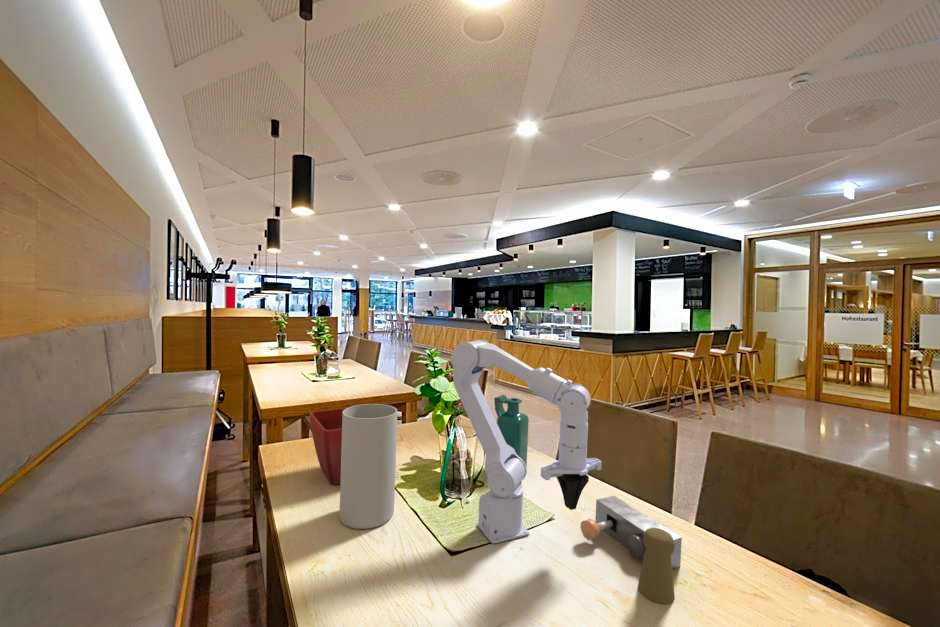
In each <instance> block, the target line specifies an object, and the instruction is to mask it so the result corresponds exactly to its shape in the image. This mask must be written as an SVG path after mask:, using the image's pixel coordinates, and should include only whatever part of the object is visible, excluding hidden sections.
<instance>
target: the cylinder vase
mask: <svg viewBox="0 0 940 627" xmlns="http://www.w3.org/2000/svg"><path fill="white" fill-rule="evenodd" d="M345 408H346V409H345V410H343V413H342V447H341V482H340V484H339V488H340V490H339V519H340V522H341V523H342V524H343V525H345V526H347V527H348V528H352V529H355V530H356V529H358V530H366V529H367V530H368V529H373V528H377V527H381V526H382V525H384V524H386V523H387V522H388V521H389V520H391V518H392V517H393V515H394V513H395V495H396V494H395V492H396V491H395V489H396V487H395V486H396V464H397V463H396V461H397V458H396V457H397V433H398V432H397V431H398V408H396V407H395V406H392V405H390V404H382V403H364V404H357V405H352V406H350V407H345Z"/></svg>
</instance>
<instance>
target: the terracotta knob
mask: <svg viewBox="0 0 940 627" xmlns="http://www.w3.org/2000/svg"><path fill="white" fill-rule="evenodd" d="M610 527H613V523H612V521H611V520H608V521H604V522H600V523H596V522H595V520H594V519H592V518H590V519H585V520H582V521H581V522H580V529H581V534H582V535H583V537H584V538H585V539H586V540H588V541H589V540H593V539H596V538H598V537H599V535H600V531H603V529H607V528H610Z"/></svg>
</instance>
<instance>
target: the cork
mask: <svg viewBox="0 0 940 627" xmlns="http://www.w3.org/2000/svg"><path fill="white" fill-rule="evenodd" d="M643 543H644V546H645V547H646V549H645V554H644V558H643V560H642V565H641V570H640V574H639V580H638V584H637V588H638V591H639V592H640V594H641V595H642V596H643V597H644V598H646V599H647V600H649V601H650V602H652V603H656V604H659V605H670V604H672V603H674V601H675V599H676V598H675V588H674V576H673V575H674V574H673V570H672V563H671V554H673V551H674V549H675V544H674V540H673V538H672V536H671V535H670V534H669V533H668V532H666V531H664V530H662V529H659V528H649V529H647V530H646V531H645V532H644V534H643Z"/></svg>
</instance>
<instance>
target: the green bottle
mask: <svg viewBox="0 0 940 627" xmlns="http://www.w3.org/2000/svg"><path fill="white" fill-rule="evenodd" d="M493 400H494V402H493V403H494V409H495V413H496V415H497V418H496V423H497V425H498V427H499V429H500V431H501V433H502V435H503V437H504V440H505V442H506V444H507V445H509V446H511V447H512V448H514V450H515V452H516V454H517V455H518V456H519V457H520V458H521V459H522V460H523V461H524V463H525V465H526V468H527V465H528V464H527V463H528V444H529V440H528V439H529V423H530V422H529V417H528V415H527V414H525V413H523V412H520V404H521V403H523V400H522V399H520V398H517V397H507V396H506V395H505V394H501V395H498V396H496V397H494V398H493ZM504 404H507V410H505V409H504Z"/></svg>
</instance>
